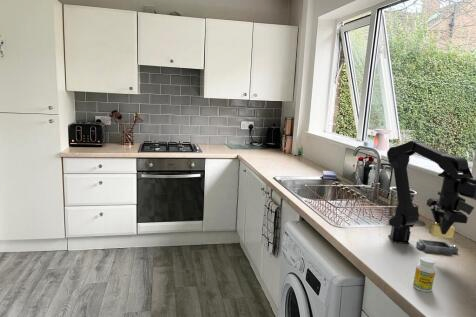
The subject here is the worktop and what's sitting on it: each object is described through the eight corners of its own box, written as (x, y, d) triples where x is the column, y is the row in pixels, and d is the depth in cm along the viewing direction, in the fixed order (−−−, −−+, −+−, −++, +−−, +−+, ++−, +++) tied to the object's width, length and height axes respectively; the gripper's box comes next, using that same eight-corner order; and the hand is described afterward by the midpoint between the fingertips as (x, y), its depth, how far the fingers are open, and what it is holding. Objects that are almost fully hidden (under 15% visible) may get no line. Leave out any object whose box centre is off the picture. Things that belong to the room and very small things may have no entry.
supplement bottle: (428, 284, 116) (433, 257, 114) (434, 293, 110) (440, 265, 109) (410, 281, 116) (415, 254, 114) (415, 290, 111) (421, 262, 109)
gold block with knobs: (433, 236, 131) (435, 224, 130) (428, 232, 135) (431, 220, 134) (452, 238, 131) (455, 226, 130) (447, 234, 134) (450, 222, 134)
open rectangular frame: (420, 251, 141) (422, 245, 140) (414, 244, 147) (415, 238, 147) (459, 255, 140) (460, 249, 140) (451, 248, 146) (452, 242, 146)
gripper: (488, 202, 120) (478, 245, 123) (459, 187, 138) (451, 225, 141) (454, 198, 121) (444, 241, 124) (429, 183, 139) (422, 221, 142)
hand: (441, 232), depth 133 cm, fingers closed on gold block with knobs, 3 cm apart
